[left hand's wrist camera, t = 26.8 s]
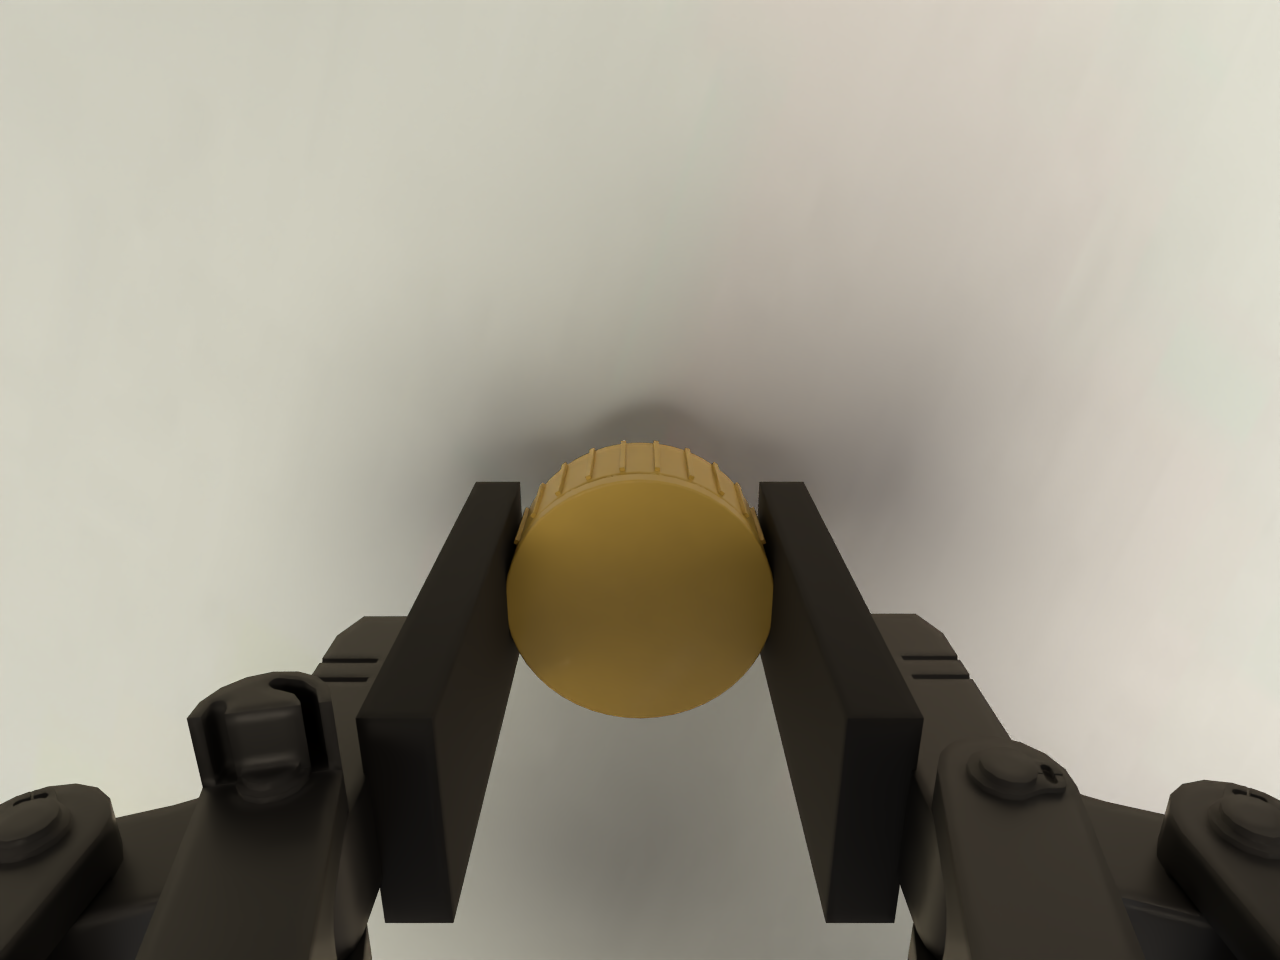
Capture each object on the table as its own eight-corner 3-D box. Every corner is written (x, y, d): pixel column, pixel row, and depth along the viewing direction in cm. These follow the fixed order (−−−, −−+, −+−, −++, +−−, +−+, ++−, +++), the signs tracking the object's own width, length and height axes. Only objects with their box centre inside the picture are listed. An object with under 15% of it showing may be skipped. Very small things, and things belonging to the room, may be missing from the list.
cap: (526, 422, 14) (510, 459, 12) (783, 453, 14) (803, 494, 12) (508, 646, 15) (492, 707, 14) (740, 671, 15) (753, 734, 14)
